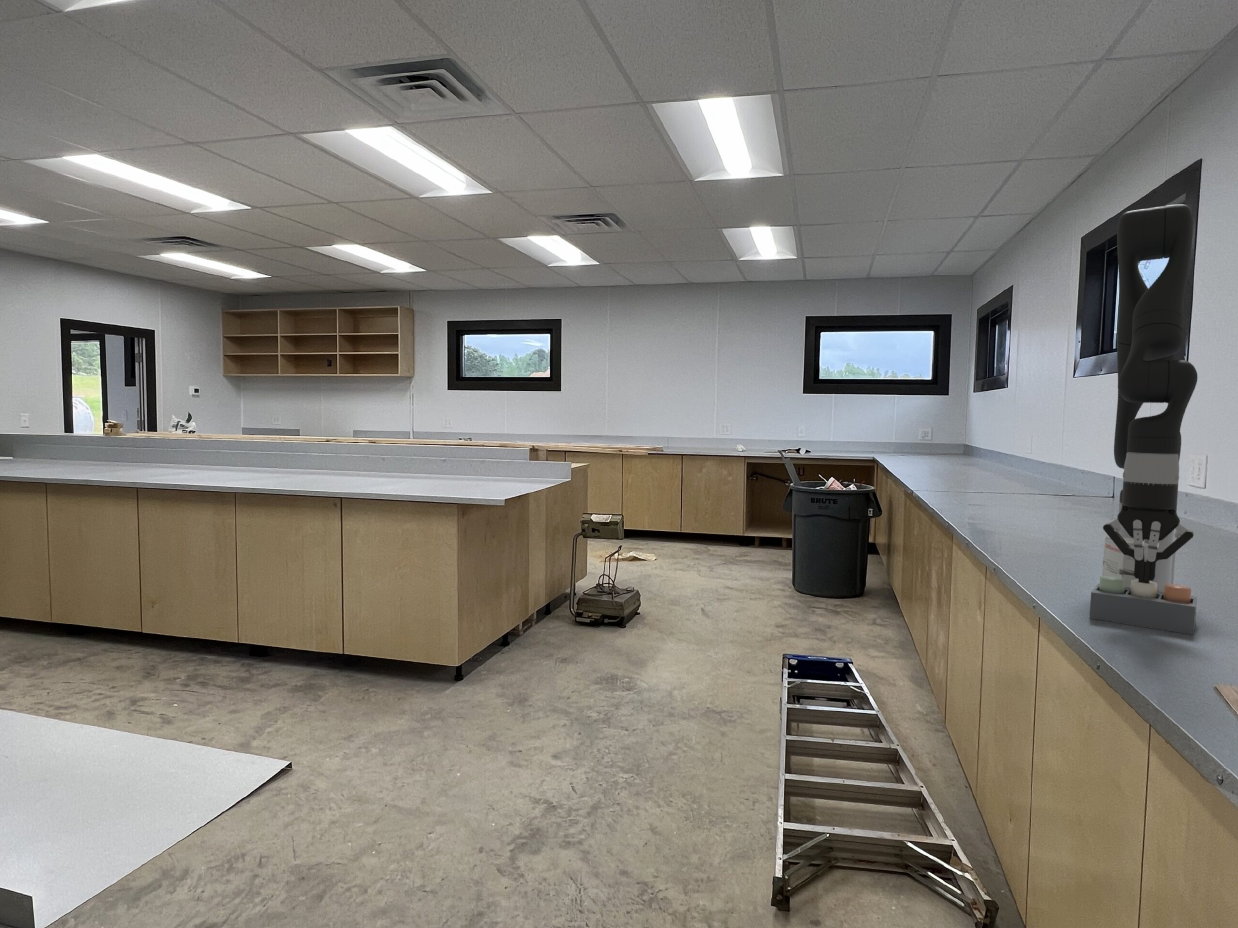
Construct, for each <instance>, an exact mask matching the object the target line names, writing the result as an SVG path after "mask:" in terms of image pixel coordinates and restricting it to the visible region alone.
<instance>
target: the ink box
mask: <svg viewBox="0 0 1238 928" xmlns="http://www.w3.org/2000/svg"><path fill="white" fill-rule="evenodd" d="M1123 539H1124V540H1125V541H1126V542H1127V544H1128V545H1129V546H1130V547H1131V548H1133V549H1134V539H1132V538H1124V537H1123ZM1148 545H1149V544H1146V543H1144V555H1145V558H1144V560H1147V553H1148ZM1103 546H1104V548H1103V555H1102V556H1103V557H1102V570H1101V577H1102V576H1109V577H1117V578H1122V579H1125V587H1127V588H1131V580H1139V579H1137V578H1135V576H1134V568H1135V560H1134V558H1132V557H1130V556H1128V555H1124V554H1123V553H1122V552H1121V551H1120V549H1119V548H1118V547H1117V546H1116V544H1115V543H1114V542H1113V541H1112V539H1111V538H1110V537H1109V536H1108V535H1106V536H1105V537H1104V545H1103Z"/></svg>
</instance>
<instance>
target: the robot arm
mask: <svg viewBox="0 0 1238 928" xmlns="http://www.w3.org/2000/svg"><path fill="white" fill-rule="evenodd" d="M1116 234H1117V235H1116V237H1117V238H1116V240H1117V241H1116V246H1117V268H1118V288H1119V300H1118V301H1119V305H1118V307H1119V309H1118V325H1117V326H1118V327H1117V341H1116V342H1117V343H1116V345H1117V347H1116V350H1117V352H1116V353H1117V354H1116V357H1117V359H1116V360H1117V362H1116V363H1117V405H1116V416H1115V419H1116V420H1115V428H1114V429H1115V430H1114V442H1113V457H1114V458H1113V459H1114V462H1115V465H1116V466H1117V467H1118V468H1119V469H1121V470H1122V469H1123V473H1122V479H1123V481H1122V489H1121V490H1120V493H1119V500H1118V501H1119V502H1118V503H1119V504H1118V507H1119V508H1118V514H1117V518H1116V519H1114V520H1113V521H1111V522H1109V523H1105V524H1104V525H1103V526H1102V529H1103V531H1104V532H1105V534H1107V535H1106V536H1109V537H1110V538H1111V539H1112V541H1113V542H1114V543H1115V544H1116V546H1117V547H1118V548H1119V549H1120V551H1121V552H1122V553H1123V554H1124V555H1128V556H1130V557H1132V558H1134V560H1135V568H1134V576H1135V578H1137V579H1139V582H1141V583H1148V584H1149V583H1150V581H1152V582H1155V583H1157V591H1158V592H1164V585H1167V584H1171V585H1174V581H1175V564H1176V552H1178V550H1180V549H1181V548H1182V547H1183V546H1184V545H1186V544H1187V543H1188V542H1189V541H1190V540H1192V539H1193V537H1194V536H1195V535H1194V534H1195V533H1194V531H1193V530H1191V529H1188V528H1186V527H1185V526H1184V525H1182V524H1181V522H1180V521H1181V520H1180V519H1181V518H1180V517H1179V516H1178V512H1177V511H1178V495H1179V494H1178V493H1179V480H1180V458H1181V451H1182V449H1181V448H1182V434H1181V427H1182V422H1183V420H1184V419H1183V418H1184V415H1185V412H1186V410H1187V407H1188V405H1189V402H1190V401H1191V398H1192V396H1193V393H1194V392H1195V389H1196V386H1197V383H1198V379H1199V377H1198V372H1197V369H1196V368H1195V366H1194V364H1192V363H1191V362H1189V361H1188V360H1184V359H1176V357H1177V353H1178V352H1179V351H1180V349H1181V348H1182V345H1183V341H1184V334H1183V333H1184V324H1183V323H1184V320H1183V319H1184V317H1183V316H1184V315H1183V313H1184V312H1183V310H1184V309H1183V308H1184V301H1185V299H1184V298H1185V292H1186V286H1187V281H1188V275H1189V270H1190V263H1191V256H1192V255H1191V254H1192V246H1193V238H1194V237H1193V235H1194V218H1193V213H1192V210H1191V207H1190V206H1188V205H1187V204H1183V203H1182V204H1181V203H1180V204H1178V203H1177V204H1169V205H1162V206H1155V207H1149V208H1142V209H1136V210H1135V209H1134V210H1130V211H1129V210H1128V211H1126V212H1124V213H1123V214H1122V215H1121V216H1120V218H1119V221H1118V224H1117V233H1116ZM1160 259H1161V260H1163V259H1168V261H1167V263H1166V266H1165V267H1164V269H1163V270H1162V272H1161V273H1160V275H1158V276H1157V278H1156V279H1155V280H1154V282H1153V283H1152V284H1151V285H1150V286H1149V287H1148V286H1147V284H1146V282H1145V280H1144V278H1143V277H1142V273H1141V271H1140V268H1139V262H1144V261H1153V260H1160ZM1159 403H1160V404H1164V403H1165V404H1167V406H1166V408H1165V410H1163V412H1161V413H1159V414H1156V415H1155V414H1154V415H1150V416H1143V417H1142V416H1141V417H1137V415H1138V412H1139V411H1140V409H1141V408H1142V407H1143V405H1144V404H1159ZM1175 531H1176V532H1175ZM1123 537H1124V538H1132V539H1134V549H1133V548H1131V547H1130V546H1129V545H1128V544H1127V542H1126V541H1125V540H1124V539H1123ZM1174 538H1175V540H1174ZM1144 543H1146V544H1149V545H1148V553H1147V560H1144V558H1145V555H1144Z"/></svg>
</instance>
